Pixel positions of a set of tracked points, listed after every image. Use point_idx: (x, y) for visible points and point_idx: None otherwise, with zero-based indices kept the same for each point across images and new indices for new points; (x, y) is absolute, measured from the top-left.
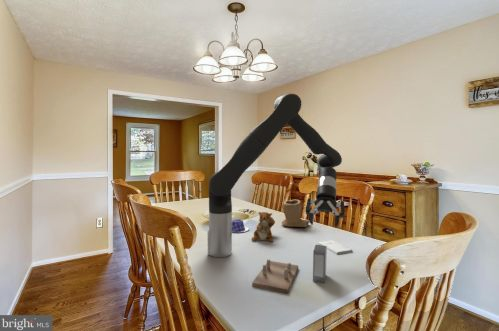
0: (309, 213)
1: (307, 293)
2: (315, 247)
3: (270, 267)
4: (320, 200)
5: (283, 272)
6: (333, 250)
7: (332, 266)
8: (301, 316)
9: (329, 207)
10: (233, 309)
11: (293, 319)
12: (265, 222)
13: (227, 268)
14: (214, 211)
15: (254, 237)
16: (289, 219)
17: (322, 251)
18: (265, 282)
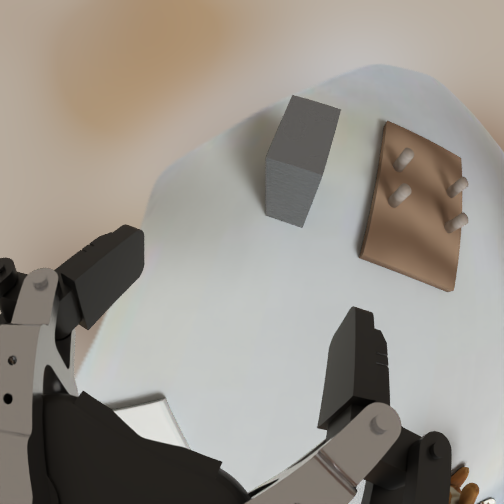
0: (394, 417)
1: (338, 124)
2: (328, 139)
3: (444, 236)
4: None
5: (408, 201)
6: (171, 421)
7: (219, 285)
8: (350, 72)
9: (52, 419)
10: (452, 104)
11: (363, 69)
12: None
13: None
14: None
15: (464, 475)
16: None
17: (302, 102)
18: (438, 153)
